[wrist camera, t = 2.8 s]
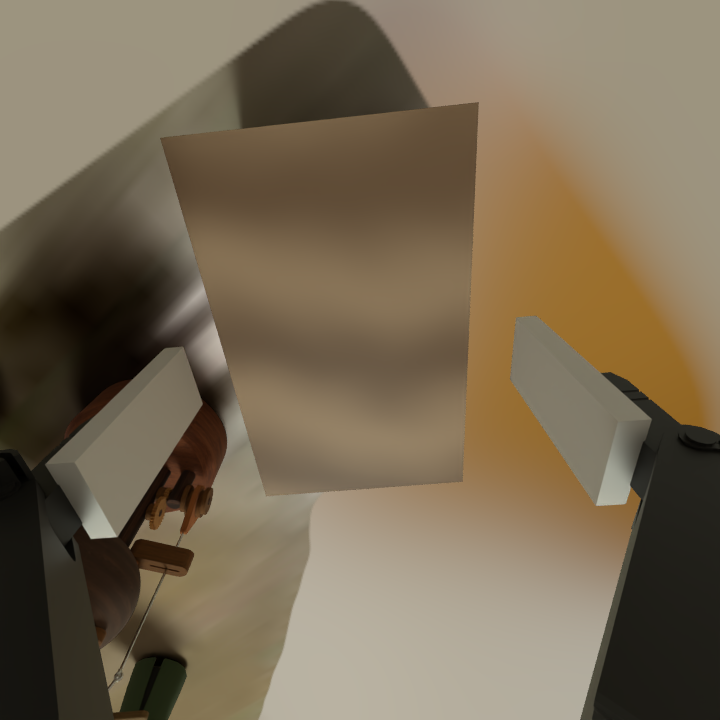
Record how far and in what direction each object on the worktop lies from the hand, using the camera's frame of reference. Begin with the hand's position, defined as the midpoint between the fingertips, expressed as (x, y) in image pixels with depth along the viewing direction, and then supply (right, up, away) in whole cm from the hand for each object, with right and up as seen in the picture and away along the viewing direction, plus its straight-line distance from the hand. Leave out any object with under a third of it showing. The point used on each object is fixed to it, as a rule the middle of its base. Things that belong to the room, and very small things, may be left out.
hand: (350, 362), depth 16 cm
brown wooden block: (0, +5, +9) cm, 11 cm away
